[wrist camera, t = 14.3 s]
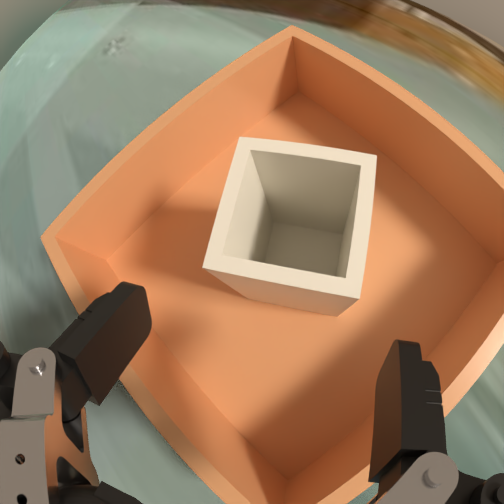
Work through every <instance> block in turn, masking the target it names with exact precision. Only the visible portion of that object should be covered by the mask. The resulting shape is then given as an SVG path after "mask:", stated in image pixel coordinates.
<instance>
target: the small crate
mask: <svg viewBox="0 0 504 504" xmlns="http://www.w3.org/2000/svg"><path fill="white" fill-rule="evenodd" d="M376 162H377V155H372V154H367V153H361V152H356V151H350V150H344V149H338V148H331V147H325V146H318V145H311V144H304V143H296V142H288V141H280V140H270V139H261V138H250V137H239V140H238V143H237V146H236V150H235V153H234V156H233V160H232V163H231V166H230V170H229V173H228V177H227V180H226V183H225V187H224V190H223V194H222V197H221V201H220V204H219V208H218V211H217V215H216V219H215V222H214V226H213V229H212V233H211V237H210V240H209V244H208V248H207V252H206V255H205V259H204V263H203V267H202V268H203V269H205V270H206V271H208V272H209V273H211V274H212V275H213V276H215V277H216V278H218V279H219V280H221V281H222V282H224V283H225V284H227V285H228V286H230V287H231V288H233V289H234V290H236V291H237V292H239V293H240V294H242V295H243V296H244V297H246V298H247V299H251V300H255V301H260V302H265V303H270V304H274V305H279V306H284V307H289V308H294V309H299V310H304V311H309V312H314V313H319V314H324V315H330V316H335V317H338V316H339V315H340V314H342V313H343V312H344V311H345V310H347V309H348V308H349V307H350V306H352V305H353V304H354V303H355V302H356V301H358V300H359V299H360V294H361V288H362V282H363V276H364V270H365V263H366V256H367V249H368V242H369V234H370V226H371V217H372V208H373V198H374V187H375V175H376Z"/></svg>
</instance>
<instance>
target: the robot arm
mask: <svg viewBox="0 0 504 504" xmlns="http://www.w3.org/2000/svg"><path fill="white" fill-rule="evenodd" d="M151 328H152V318H151V314H150V309H149V304H148V299H147V294H146V290H145V288H144V287H143V286H140V285H136V284H133V283H129V282H125V281H123V282H120V283H119V284H118V285H117V286H116V287H115V288H114V289H113V290H112V291H111V292H110V293H109V292H107V293H105V294H103V295H102V296H100V297H98V298H96V299H95V300H94V301H93V302H92V303H91V304H90V305H89V306H88V307H87V308H86V310H85V311H83V312H82V313H81V314H80V315H79V316H78V319H75V320H74V322H73V323H72V324H71V325H70V326H69V327H68V328H67V329H66V330H65V331H64V332H63V333H62V334H61V336H60V337H59V338H58V339H57V340H56V341H55V342H54V343H53V344H52V345H51V346H50V347H49V348H48V349H47V348H43V347H39V348H34V349H31V350H29V351H28V352H26V353H25V354H24V355H19V354H14V353H8V352H7V351H6V349H5V347H4V345H3V344H2V342H1V341H0V504H142V503H141V502H140V501H138V500H137V499H136V498H134V497H132V496H130V495H128V494H126V493H124V492H122V491H120V490H118V489H116V488H114V487H112V486H110V485H108V484H106V483H105V482H103V481H101V483H99V479H98V475H97V472H96V469H95V467H94V465H93V463H92V461H91V457H90V451H89V443H88V433H87V422H86V410H85V407H84V405H85V404H86V402H87V401H88V400H89V401H91V402H93V403H95V404H97V405H99V406H100V404H101V403H102V401H103V400H104V399H105V397H106V396H107V394H108V393H109V391H110V390H111V388H112V387H113V386H114V384H115V383H116V381H117V380H118V378H119V377H120V376H121V374H122V373H123V371H124V370H125V369H126V367H127V366H128V364H129V363H130V361H131V360H132V359H133V357H134V356H135V354H136V353H137V352H138V350H139V349H140V347H141V346H142V345H143V343H144V342H145V341H146V339H147V338H148V336H149V334H150V331H151ZM440 392H441V386H440V379H439V374H438V373H437V371H436V369H435V367H434V366H433V364H432V362H431V361H423V360H422V354H421V347H420V344H419V343H418V342H412V341H405V340H398V339H395V340H394V342H393V343H392V346H391V348H390V350H389V352H388V354H387V357H386V359H385V361H384V363H383V365H382V367H381V369H380V371H379V374H378V377H377V381H376V388H375V408H374V425H373V438H372V450H371V460H370V470H369V478H368V482H374V483H379V488H378V493H377V494H376V495H375V496H374V497H373V498H372V499H371V500H370V501H369V502H368V503H367V504H504V473H499V474H496V475H493V476H492V477H490V478H489V479H488V480H483V479H480V478H477V477H473V476H470V475H467V474H464V473H462V472H460V471H459V470H458V469H457V466H456V464H455V462H454V461H453V460H452V459H451V458H450V457H449V456H448V455H447V450H446V435H445V423H444V412H443V405H442V394H441V393H440Z"/></svg>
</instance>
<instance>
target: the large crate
mask: <svg viewBox="0 0 504 504" xmlns="http://www.w3.org/2000/svg"><path fill="white" fill-rule="evenodd" d="M239 137H250V138H261V139H270V140H280V141H288V142H296V143H304V144H311V145H318V146H325V147H331V148H338V149H344V150H350V151H356V152H361V153H367V154H372V155H377V162H376V175H375V187H374V198H373V208H372V217H371V226H370V234H369V242H368V249H367V256H366V263H365V270H364V276H363V282H362V288H361V294H360V299H359V300H358V301H356V302H355V303H354V304H353V305H352V306H350V307H349V308H348V309H347V310H345V311H344V312H343V313H342V314H340V315H339V316H338V317H335V316H330V315H324V314H319V313H314V312H309V311H304V310H299V309H294V308H289V307H284V306H279V305H274V304H270V303H265V302H260V301H255V300H251V299H247V298H246V297H244V296H243V295H242V294H240V293H239V292H237V291H236V290H234V289H233V288H231V287H230V286H228V285H227V284H225V283H224V282H222V281H221V280H219V279H218V278H216V277H215V276H213V275H212V274H211V273H209V272H208V271H206V270H205V269H203V268H202V267H203V263H204V259H205V255H206V252H207V248H208V244H209V240H210V237H211V233H212V229H213V226H214V222H215V219H216V215H217V211H218V208H219V204H220V201H221V197H222V194H223V190H224V187H225V183H226V180H227V177H228V173H229V170H230V166H231V163H232V160H233V156H234V153H235V150H236V146H237V143H238V140H239ZM41 240H42V242H43V244H44V247H45V249H46V251H47V253H48V255H49V257H50V260H51V262H52V264H53V266H54V268H55V270H56V272H57V274H58V276H59V278H60V280H61V282H62V284H63V286H64V288H65V290H66V292H67V294H68V296H69V297H70V299H71V301H72V303H73V305H74V307H75V308H76V310H77V312H78V314H79V315H80V314H81V313H82V312H83V311H85V310H86V308H87V307H88V306H89V305H90V304H91V303H92V302H93V301H94V300H95V299H96V298H98V297H100V296H102V295H103V294H105V293H107V292H109V293H110V292H111V291H112V290H113V289H114V288H115V287H116V286H117V285H118V284H119V283H120V282H123V281H125V282H129V283H133V284H136V285H140V286H143V287H144V288H145V290H146V294H147V299H148V304H149V309H150V314H151V318H152V328H151V331H150V334H149V336H148V338H147V339H146V341H145V342H144V343H143V345H142V346H141V347H140V349H139V350H138V352H137V353H136V354H135V356H134V357H133V359H132V360H131V361H130V363H129V364H128V366H127V367H126V369H125V370H124V371H123V373H122V374H121V376H120V377H119V379H120V381H121V382H122V384H123V385H124V386H125V388H126V389H127V391H128V392H129V393H130V395H131V396H132V397H133V399H134V400H135V402H136V403H137V404H138V406H139V407H140V408H141V410H142V411H143V412H144V413H145V415H146V416H147V417H148V419H149V420H150V421H151V422H152V424H153V425H154V426H155V427H156V429H157V430H158V431H159V432H160V433H161V435H162V436H163V437H164V438H165V440H166V441H167V442H168V443H169V444H170V445H171V447H172V448H173V449H174V450H175V451H176V452H177V453H178V455H179V456H180V457H181V458H182V459H183V460H184V461H185V462H186V464H187V465H188V466H189V467H190V468H191V469H192V470H193V471H194V472H195V473H196V474H197V475H198V476H199V477H200V478H201V479H202V481H203V482H204V483H205V484H206V485H207V486H208V487H209V488H210V489H211V490H212V491H213V492H214V493H215V494H216V495H217V496H218V497H219V498H221V499H222V500H223V501H224V502H225V503H226V504H347V503H348V502H350V501H351V500H352V499H354V498H355V497H356V496H358V495H359V494H360V493H362V492H363V491H364V490H366V489H367V488H368V487H370V486H371V485H372V484H373V483H374V482H368V478H369V470H370V460H371V450H372V438H373V425H374V408H375V388H376V381H377V377H378V374H379V371H380V369H381V367H382V365H383V363H384V361H385V359H386V357H387V354H388V352H389V350H390V348H391V346H392V343H393V342H394V340H395V339H398V340H405V341H412V342H418V343H419V344H420V347H421V354H422V360H423V361H431V362H432V364H433V366H434V367H435V369H436V371H437V373H438V374H439V379H440V386H441V392H440V393H441V394H442V405H443V412H444V418H445V416H446V415H447V414H448V413H449V412H450V411H451V410H452V409H453V408H454V406H455V405H456V404H457V403H458V402H459V401H460V400H461V398H462V397H463V396H464V395H465V394H466V392H467V391H468V390H469V389H470V388H471V386H472V385H473V384H474V383H475V381H476V380H477V379H478V377H479V376H480V375H481V374H482V372H483V371H484V370H485V368H486V367H487V366H488V364H489V363H490V362H491V360H492V359H493V357H494V356H495V355H496V353H497V352H498V350H499V349H500V347H501V346H502V344H503V343H504V173H503V172H502V170H501V169H500V168H499V167H498V166H497V165H496V164H495V163H494V162H493V161H491V160H490V159H489V158H488V157H487V156H486V155H485V154H484V153H483V152H482V151H481V150H480V149H479V148H478V147H477V146H476V145H474V144H473V143H472V142H471V141H470V140H469V139H468V138H467V137H466V136H464V135H463V134H462V133H461V132H460V131H459V130H457V129H456V128H455V127H454V126H453V125H451V124H450V123H449V122H448V121H447V120H445V119H444V118H443V117H442V116H440V115H439V114H438V113H437V112H435V111H434V110H433V109H431V108H430V107H429V106H428V105H426V104H425V103H424V102H422V101H421V100H419V99H418V98H417V97H415V96H414V95H413V94H411V93H410V92H408V91H407V90H406V89H404V88H403V87H401V86H400V85H398V84H397V83H395V82H394V81H392V80H391V79H389V78H388V77H386V76H385V75H383V74H382V73H380V72H378V71H377V70H375V69H374V68H372V67H370V66H369V65H367V64H365V63H364V62H362V61H360V60H359V59H357V58H355V57H354V56H352V55H350V54H348V53H346V52H345V51H343V50H341V49H339V48H337V47H336V46H334V45H332V44H330V43H328V42H326V41H324V40H322V39H320V38H318V37H316V36H314V35H312V34H310V33H308V32H306V31H304V30H302V29H300V28H297V27H295V26H293V25H291V26H289V27H288V28H286V29H284V30H282V31H281V32H279V33H277V34H276V35H274V36H272V37H271V38H269V39H267V40H266V41H264V42H262V43H261V44H259V45H258V46H256V47H254V48H253V49H251V50H250V51H248V52H247V53H245V54H244V55H242V56H241V57H239V58H238V59H236V60H235V61H233V62H232V63H230V64H229V65H227V66H226V67H224V68H223V69H221V70H220V71H219V72H217V73H216V74H214V75H213V76H212V77H210V78H209V79H207V80H206V81H205V82H203V83H202V84H201V85H199V86H198V87H197V88H195V89H194V90H193V91H191V92H190V93H189V94H187V95H186V96H185V97H184V98H182V99H181V100H180V101H178V102H177V103H176V104H175V105H173V106H172V107H171V108H170V109H169V110H167V111H166V112H165V113H164V114H162V115H161V116H160V117H159V118H158V119H156V120H155V121H154V122H153V123H152V124H151V125H149V126H148V127H147V128H146V129H145V130H144V131H143V132H141V133H140V134H139V135H138V136H137V137H136V138H135V139H134V140H132V141H131V142H130V143H129V144H128V145H127V146H126V147H125V148H124V149H123V150H122V151H120V152H119V153H118V154H117V155H116V156H115V157H114V158H113V159H112V160H111V161H110V162H109V163H108V164H107V165H106V166H105V167H104V168H103V169H102V170H101V171H100V172H99V173H98V174H97V175H96V176H95V177H94V178H93V179H92V180H91V181H90V182H89V183H88V184H87V185H86V186H85V187H84V188H83V189H82V190H81V191H80V192H79V193H78V195H77V196H76V197H75V198H74V199H73V200H72V201H71V202H70V203H69V204H68V205H67V207H66V208H65V209H64V210H63V211H62V212H61V213H60V214H59V216H58V217H57V218H56V219H55V220H54V221H53V223H52V224H51V225H50V226H49V227H48V228H47V230H46V231H45V232H44V233H43V234H42V236H41Z"/></svg>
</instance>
